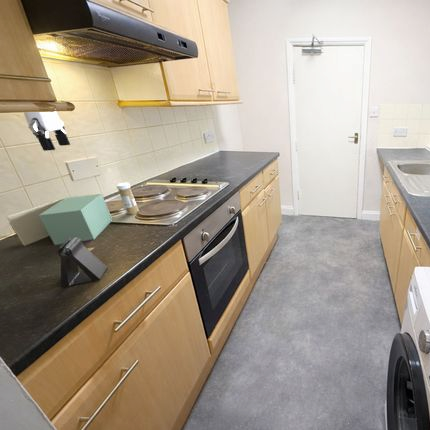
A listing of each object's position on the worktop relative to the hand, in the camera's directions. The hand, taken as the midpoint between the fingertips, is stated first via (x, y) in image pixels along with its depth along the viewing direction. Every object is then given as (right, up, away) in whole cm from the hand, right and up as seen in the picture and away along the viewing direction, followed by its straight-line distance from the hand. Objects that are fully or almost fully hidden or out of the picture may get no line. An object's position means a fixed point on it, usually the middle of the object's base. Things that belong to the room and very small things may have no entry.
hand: (57, 147), depth 96 cm
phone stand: (+28, -43, -20) cm, 55 cm away
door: (-8, -32, +5) cm, 33 cm away
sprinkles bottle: (+12, -24, +21) cm, 34 cm away
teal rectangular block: (+5, -31, +6) cm, 32 cm away
